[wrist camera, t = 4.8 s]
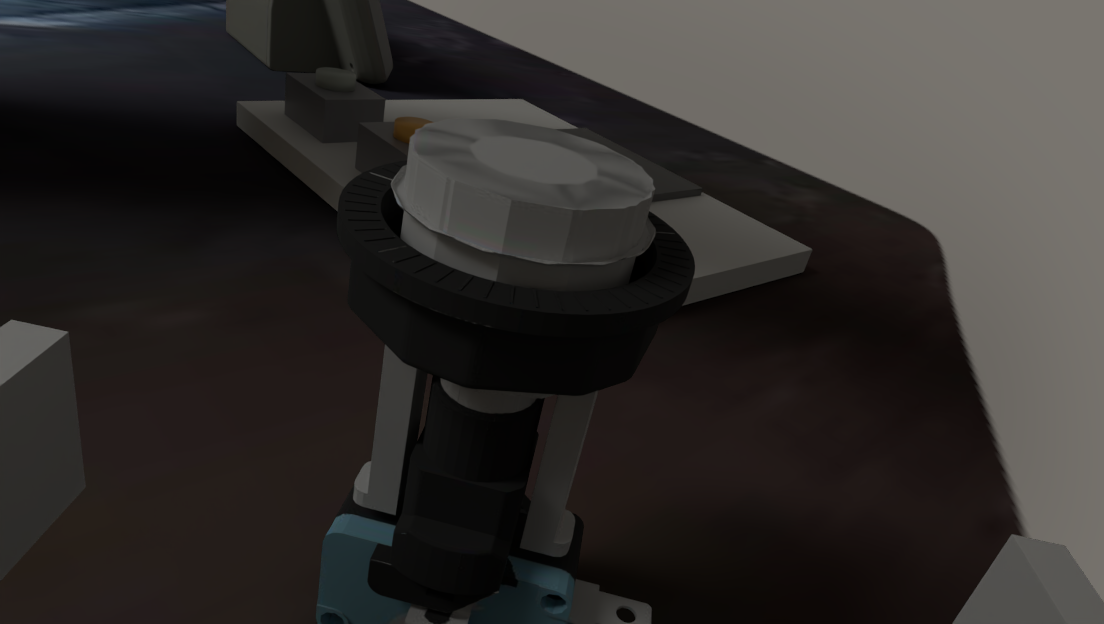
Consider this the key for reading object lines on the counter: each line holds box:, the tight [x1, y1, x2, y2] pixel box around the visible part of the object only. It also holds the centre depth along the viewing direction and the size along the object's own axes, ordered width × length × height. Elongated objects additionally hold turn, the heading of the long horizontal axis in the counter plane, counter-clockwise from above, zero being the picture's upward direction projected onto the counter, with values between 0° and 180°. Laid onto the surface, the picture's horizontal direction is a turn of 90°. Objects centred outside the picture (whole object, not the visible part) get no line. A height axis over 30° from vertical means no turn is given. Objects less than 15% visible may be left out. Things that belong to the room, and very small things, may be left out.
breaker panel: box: [237, 67, 813, 306], centre depth 37 cm, size 22×18×4 cm
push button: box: [316, 118, 695, 624], centre depth 14 cm, size 7×5×10 cm
